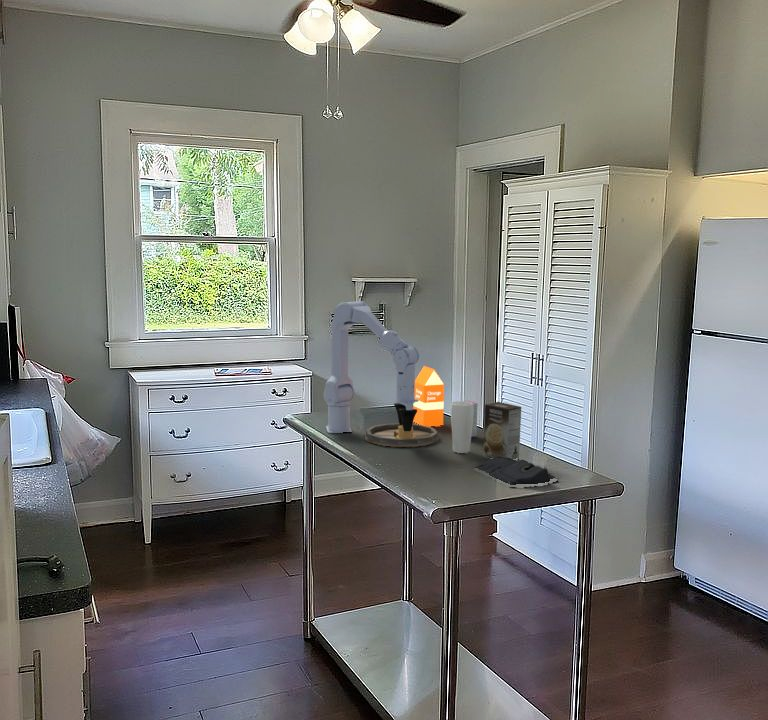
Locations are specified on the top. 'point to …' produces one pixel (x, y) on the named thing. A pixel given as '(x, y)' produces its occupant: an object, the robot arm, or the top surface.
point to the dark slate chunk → (515, 471)
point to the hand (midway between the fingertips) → (405, 428)
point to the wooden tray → (387, 438)
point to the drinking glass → (462, 425)
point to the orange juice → (429, 398)
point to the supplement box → (474, 421)
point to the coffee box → (502, 430)
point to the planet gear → (404, 433)
